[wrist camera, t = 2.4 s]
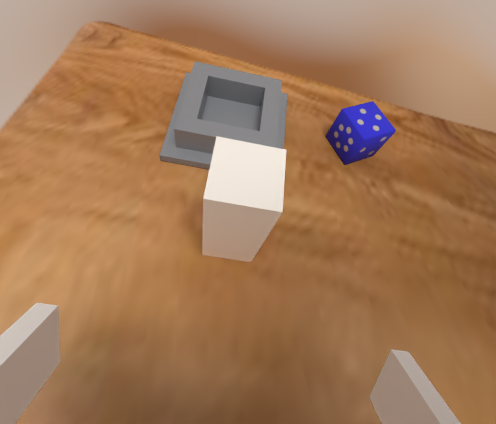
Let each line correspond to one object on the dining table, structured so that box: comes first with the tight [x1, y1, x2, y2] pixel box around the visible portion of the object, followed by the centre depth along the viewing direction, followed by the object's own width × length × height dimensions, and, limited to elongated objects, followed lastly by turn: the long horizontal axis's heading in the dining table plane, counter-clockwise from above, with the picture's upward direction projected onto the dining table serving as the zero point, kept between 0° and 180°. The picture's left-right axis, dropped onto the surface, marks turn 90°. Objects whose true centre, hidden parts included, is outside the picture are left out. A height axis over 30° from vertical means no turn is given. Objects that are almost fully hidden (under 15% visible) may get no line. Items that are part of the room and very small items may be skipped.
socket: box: [160, 62, 287, 169], centre depth 33 cm, size 14×14×4 cm
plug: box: [202, 136, 286, 262], centre depth 23 cm, size 5×5×12 cm
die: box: [326, 102, 396, 165], centre depth 35 cm, size 5×5×5 cm
